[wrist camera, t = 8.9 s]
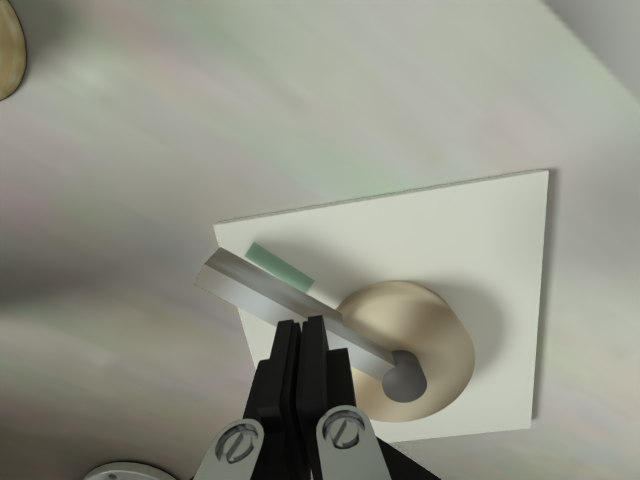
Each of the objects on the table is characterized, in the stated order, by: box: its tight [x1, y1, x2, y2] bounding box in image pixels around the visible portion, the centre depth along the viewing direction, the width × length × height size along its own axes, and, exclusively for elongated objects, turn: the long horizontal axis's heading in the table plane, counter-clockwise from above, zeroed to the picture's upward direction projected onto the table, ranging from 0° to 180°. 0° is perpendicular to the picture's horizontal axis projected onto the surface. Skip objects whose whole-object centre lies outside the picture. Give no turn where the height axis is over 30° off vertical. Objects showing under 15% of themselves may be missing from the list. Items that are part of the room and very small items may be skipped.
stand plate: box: [213, 169, 549, 443], centre depth 26 cm, size 24×24×1 cm
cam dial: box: [194, 247, 475, 423], centre depth 22 cm, size 21×11×5 cm, turn 58°
